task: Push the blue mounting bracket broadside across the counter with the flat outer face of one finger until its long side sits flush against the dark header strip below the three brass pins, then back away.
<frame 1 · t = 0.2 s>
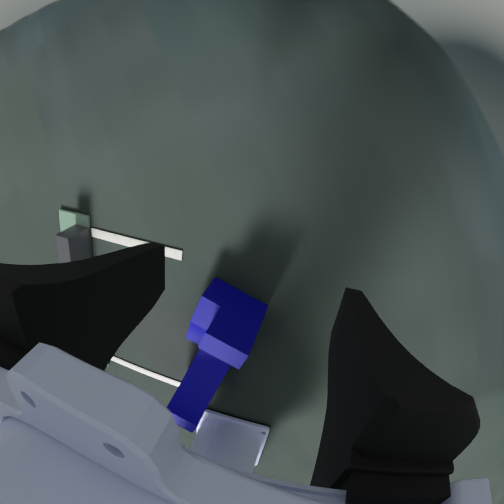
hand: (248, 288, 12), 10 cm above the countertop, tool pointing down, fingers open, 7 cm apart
header strip: (92, 299, 29), on the countertop
blue mounting bracket: (215, 338, 27), on the countertop
lane marks: (137, 316, 28), on the countertop
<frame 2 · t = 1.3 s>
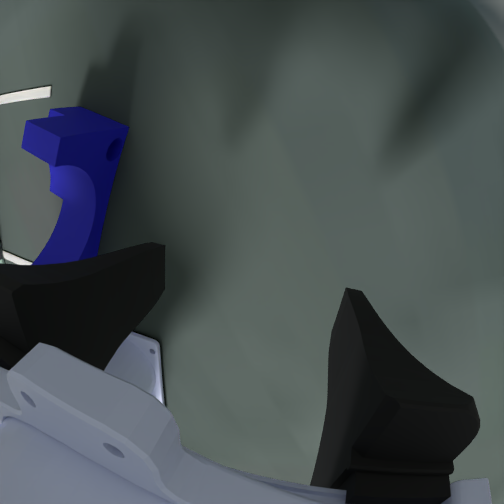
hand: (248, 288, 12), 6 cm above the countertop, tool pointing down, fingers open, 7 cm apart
blue mounting bracket: (86, 197, 20), on the countertop
lane marks: (18, 185, 21), on the countertop
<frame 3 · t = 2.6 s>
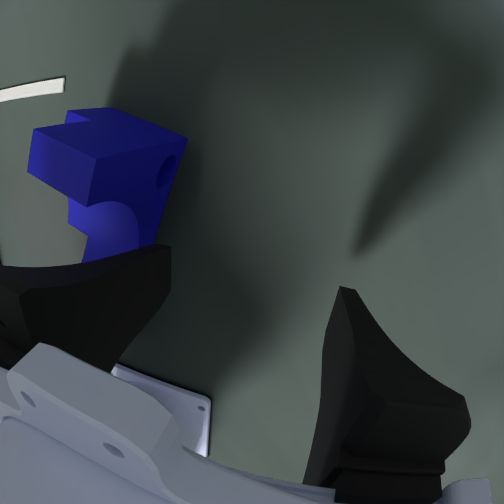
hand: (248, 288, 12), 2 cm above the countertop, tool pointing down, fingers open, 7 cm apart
blue mounting bracket: (118, 230, 16), on the countertop, touching gripper
lane marks: (21, 205, 17), on the countertop
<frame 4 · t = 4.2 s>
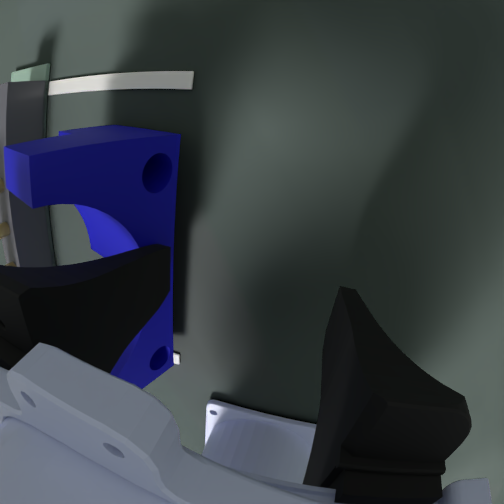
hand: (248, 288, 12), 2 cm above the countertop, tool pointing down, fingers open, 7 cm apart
header strip: (41, 211, 17), on the countertop
blue mounting bracket: (143, 253, 15), point 1 cm above the countertop, touching gripper
lane marks: (105, 227, 16), on the countertop
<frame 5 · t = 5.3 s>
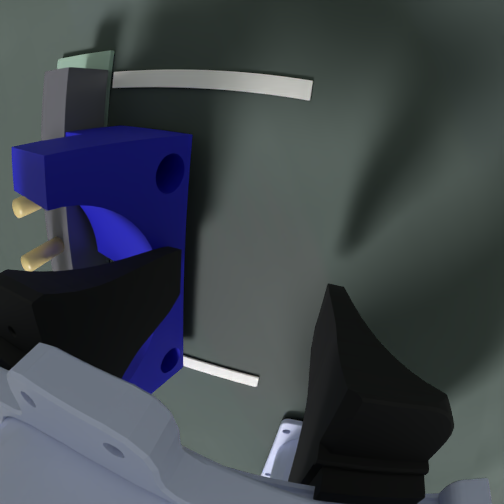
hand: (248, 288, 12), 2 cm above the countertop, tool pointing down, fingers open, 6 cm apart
header strip: (95, 223, 16), on the countertop
blue mounting bracket: (152, 255, 15), on the countertop, touching gripper, header strip
lane marks: (186, 244, 15), on the countertop
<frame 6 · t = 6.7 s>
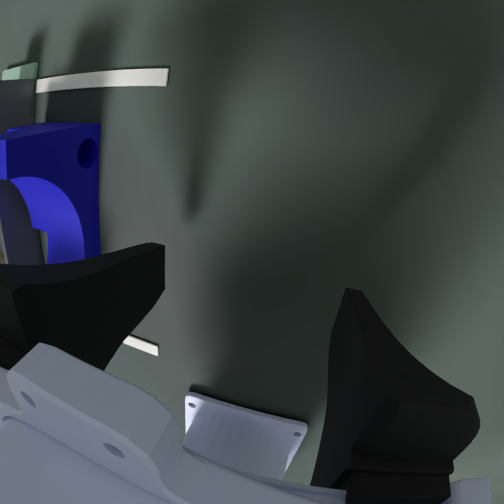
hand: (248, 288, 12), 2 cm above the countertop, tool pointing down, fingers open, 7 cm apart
header strip: (29, 205, 17), on the countertop
blue mounting bracket: (75, 225, 17), on the countertop
lane marks: (87, 219, 16), on the countertop
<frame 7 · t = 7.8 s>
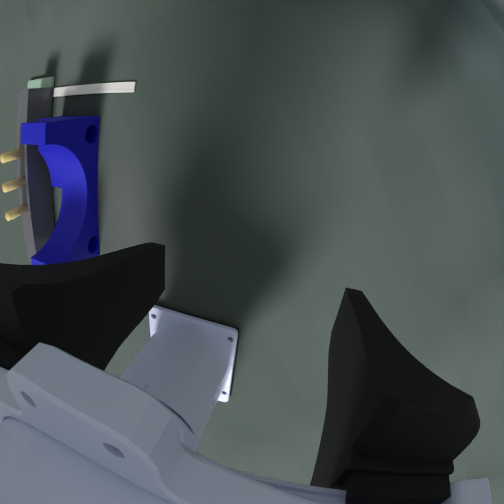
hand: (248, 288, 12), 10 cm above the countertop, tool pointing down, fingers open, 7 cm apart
header strip: (46, 173, 25), on the countertop
blue mounting bracket: (81, 184, 25), on the countertop
lane marks: (86, 178, 24), on the countertop
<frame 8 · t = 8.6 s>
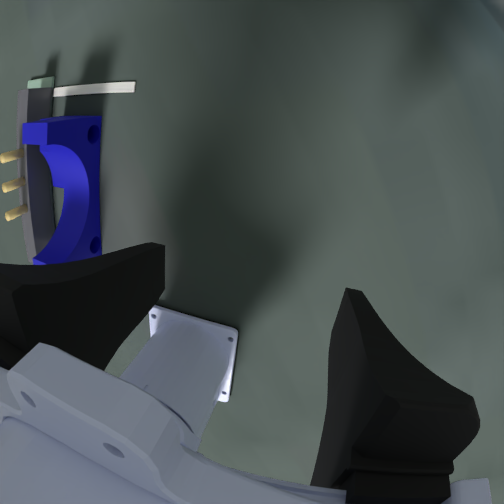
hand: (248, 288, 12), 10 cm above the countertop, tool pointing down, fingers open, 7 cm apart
header strip: (46, 173, 25), on the countertop
blue mounting bracket: (83, 184, 25), on the countertop
lane marks: (86, 178, 24), on the countertop
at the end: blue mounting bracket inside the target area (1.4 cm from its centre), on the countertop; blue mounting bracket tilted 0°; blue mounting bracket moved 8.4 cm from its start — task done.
